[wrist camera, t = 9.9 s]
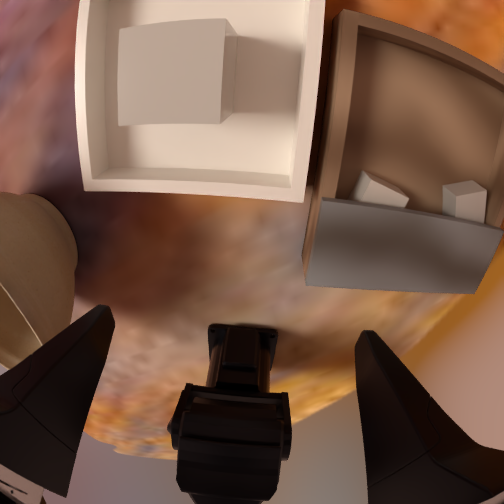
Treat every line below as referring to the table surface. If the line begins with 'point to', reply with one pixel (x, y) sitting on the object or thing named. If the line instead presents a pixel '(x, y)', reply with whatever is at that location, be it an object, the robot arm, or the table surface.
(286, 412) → the robot arm
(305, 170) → the pale tray
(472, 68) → the grey shallow tray
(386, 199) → the light grey short block
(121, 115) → the light grey cube
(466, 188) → the small grey block
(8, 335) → the planter bowl
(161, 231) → the table surface
